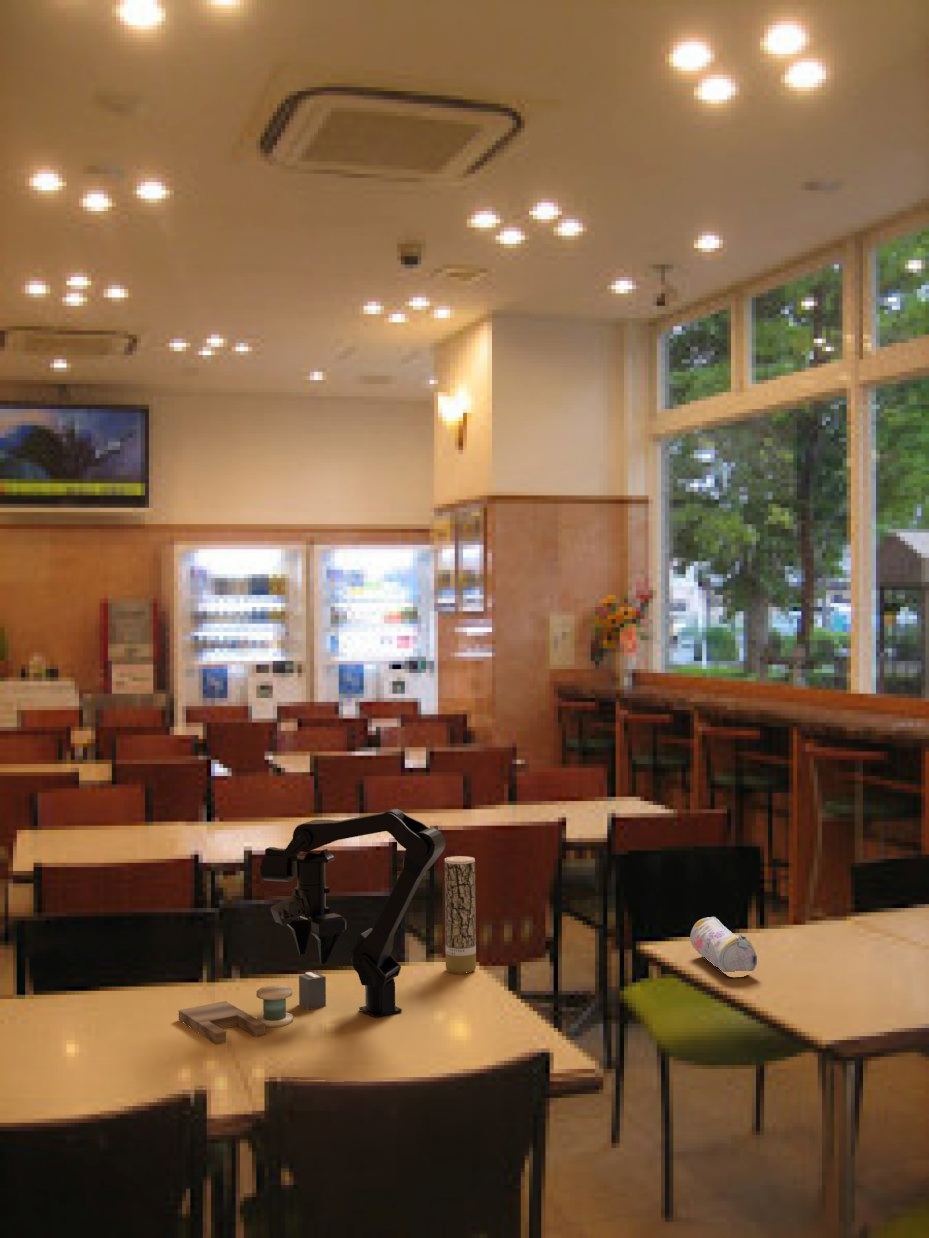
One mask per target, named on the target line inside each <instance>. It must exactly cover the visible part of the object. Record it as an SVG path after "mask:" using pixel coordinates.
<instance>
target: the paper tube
mask: <svg viewBox="0 0 929 1238" xmlns="http://www.w3.org/2000/svg"><path fill="white" fill-rule="evenodd" d="M444 915H445V916H444V920H445V921H444V922H445V923H444V927H445V928H444V929H445V931H444V933H445V934H444V935H445V969H446V971H447V972H448V973H451V972H453V973H452V974H456V973H465V974H467V973H466V972H470V973H473V972H474V971H475V970H476V969H477V956H476V955H477V949H476V948H477V945H476V943H477V938H476V937H477V934H476V933H477V932H476V931H477V930H476V928H477V927H476V926H477V925H476V922H477V921H476V915H477V914H476V860H475V857H473V856H467V855H465V856H464V855H463V856H462V855H459V856H458V855H455V856H448V857H445V858H444ZM472 971H473V972H472Z"/></svg>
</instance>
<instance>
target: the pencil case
mask: <svg viewBox="0 0 929 1238" xmlns="http://www.w3.org/2000/svg"><path fill="white" fill-rule="evenodd" d="M689 939H690V943H691V945H692V948H693V949H694V950H695V951H696V952H697V951H698V952H697V954H699V955H700V954H701V955H702V956H703V957H702V956H701V955H700V956H701V957H702V958H704V957H705V958H706V959H708V960H709V961H711V962H712V963H713V964H714V965H715V966H717V967H718V968H719V969H721V971H723V972H735V971H753V972H754V971H755V970H756V966H757V964H758V959H757V958H758V955H757V953H756V950H755V948H754V946H753V944H752V942H751V941H750V940H749V939H748V937H747V936H743V935H742V933H738V934H737V935H736V934H735V933H733V932H732V931H731V930H730V929H728V928H727V926H724V924H723V923H722V922H721V921H720V920H719V919H718V918H717V917H716V916H711V917H703V918H701V919H699V920H697V921H696V922H695V923H694V925H693V927H692V928H691V931H690V937H689ZM705 958H704V959H705ZM706 959H705V960H706ZM714 965H713V966H714ZM715 966H714V967H715ZM719 969H718V970H719ZM721 971H720V972H721Z"/></svg>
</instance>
